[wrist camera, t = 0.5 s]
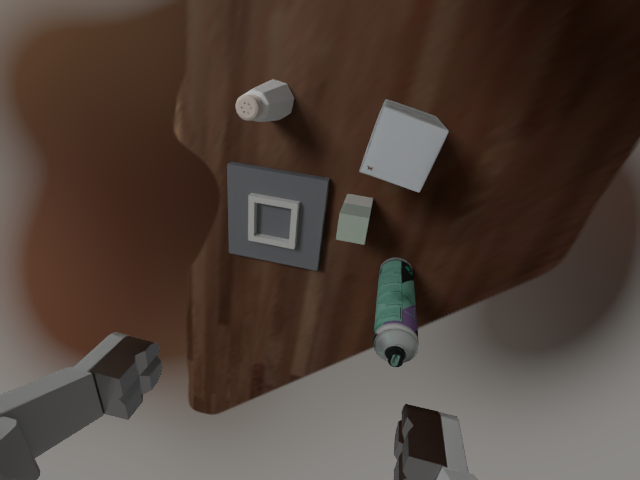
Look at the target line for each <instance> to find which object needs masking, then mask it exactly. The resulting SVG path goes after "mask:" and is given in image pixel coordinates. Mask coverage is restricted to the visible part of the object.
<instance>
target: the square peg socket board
mask: <svg viewBox="0 0 640 480" xmlns="http://www.w3.org/2000/svg"><path fill="white" fill-rule="evenodd" d="M227 182H228V229H229V253H232V254H237V255H241V256H246V257H251V258H256V259H261V260H266V261H271V262H276V263H281V264H286V265H291V266H295V267H300V268H305V269H310V270H315V271H317V270H318V268H319V262H320V254H321V246H322V238H323V230H324V222H325V214H326V206H327V198H328V190H329V182H330V178H326V177H320V176H314V175H308V174H302V173H296V172H290V171H284V170H278V169H272V168H266V167H260V166H254V165H248V164H242V163H236V162H230V163H228V164H227Z"/></svg>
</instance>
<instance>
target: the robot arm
mask: <svg viewBox="0 0 640 480" xmlns="http://www.w3.org/2000/svg"><path fill="white" fill-rule="evenodd" d="M159 352H160V348H159V344H157V343H154V342H150V341H147V340H143V339H140V338H136V337H132V336H128V335H125V334H121V333H117V332H115V333H112V334H110V335H109V336H108V337H106V338H105V339H104V340H103V341H102V342H101V343H100V344H99V345H98V346H97V347H95V348H94V349H93V350H92V351H91V352H90V353H89V354H88V355H87V356H85V357H84V358H83V359H82V360H81V361H80V362H79V363H78V364H77V365H76V366H74V367H73V368H71V367H67V368H65V369H62V370H60V371H57V372H55V373H52V374H50V375H47V376H45V377H43V378H40V379H38V380H35V381H33V382H30V383H28V384H25V385H23V386H21V387H18V388H15V389H13V390H10V391H8V392H6V393H3V394H1V395H0V480H37V479H38V477H39V476H40V470H39V467H38V465H37V463H36V461H35V459H34V458H36V457H38V456H39V455H41V454H42V453H44V452H45V451H47V450H49V449H50V448H52V447H54V446H55V445H57V444H58V443H60V442H62V441H63V440H64V439H66V438H68V437H69V436H71V435H72V434H74V433H76V432H77V431H79V430H81V429H82V428H84V427H85V426H87V425H89V424H90V423H92V422H93V421H95V420H97V419H98V418H100V417H101V416H103V414H107V415H111V416H116V417H119V418H124V419H127V420H128V419H129V418H130V417H131V416H132V414H133V413H134V412H135V411H136V409H137V408H138V407H139V406H140V404H141V403H142V401H143V394H145V393H147V392H149V391H150V390H152V389H153V387H154V386H155V385H156V383H157V382H158V380H159V377H160V375H161V371H162V362H161V360H160V359H159V357H158V356H157V354H158V353H159ZM394 455H395V457H396V458H397V463H396V466H395V469H394V480H477V478H476V477H475V476H474V475H472V474H469V473H468V467H467V462H466V456H465V451H464V446H463V441H462V435H461V430H460V424H459V420H458V418H457V416H453V415H448V414H444V413H441V412H438V411H434V410H429V409H425V408H420V407H416V406H412V405H408V404H405V405H404V407H403V410H402V420H400V421H399V422H398V425H397V429H396V434H395V443H394Z"/></svg>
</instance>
